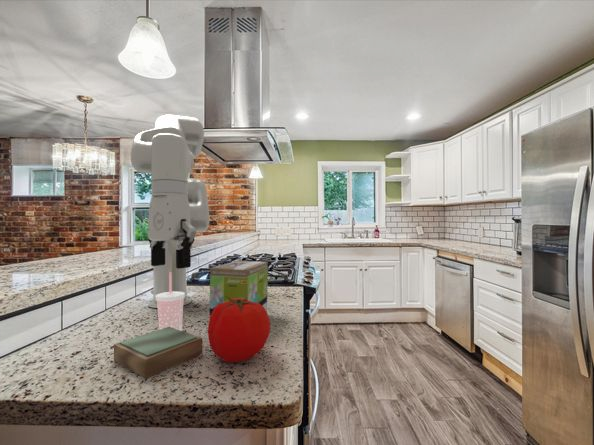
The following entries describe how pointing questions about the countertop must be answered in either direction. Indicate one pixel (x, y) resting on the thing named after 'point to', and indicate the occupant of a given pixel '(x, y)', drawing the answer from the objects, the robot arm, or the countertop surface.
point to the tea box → (239, 282)
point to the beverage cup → (170, 308)
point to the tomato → (238, 329)
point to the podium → (157, 351)
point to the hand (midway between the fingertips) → (170, 266)
